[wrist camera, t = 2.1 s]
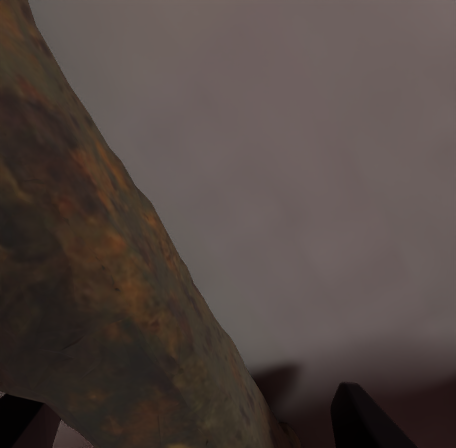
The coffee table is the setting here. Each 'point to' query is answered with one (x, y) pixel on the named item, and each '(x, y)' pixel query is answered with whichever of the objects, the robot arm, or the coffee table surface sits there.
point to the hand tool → (102, 282)
